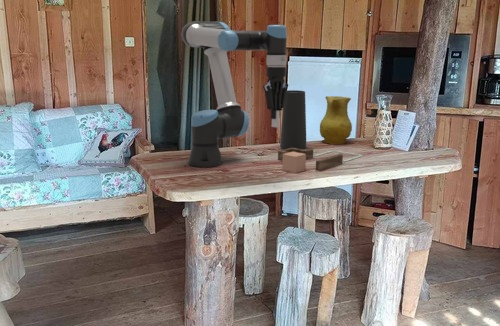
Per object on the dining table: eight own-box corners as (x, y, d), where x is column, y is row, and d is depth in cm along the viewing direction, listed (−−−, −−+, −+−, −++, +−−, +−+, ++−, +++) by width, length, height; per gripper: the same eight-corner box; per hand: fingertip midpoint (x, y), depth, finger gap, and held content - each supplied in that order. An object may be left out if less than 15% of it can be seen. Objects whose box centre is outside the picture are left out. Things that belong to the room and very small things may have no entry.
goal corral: (314, 156, 233) (314, 155, 233) (333, 150, 245) (333, 150, 245) (344, 162, 222) (345, 161, 222) (363, 156, 234) (363, 155, 234)
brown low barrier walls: (272, 160, 224) (272, 152, 223) (296, 154, 236) (296, 146, 236) (319, 170, 207) (319, 161, 206) (342, 163, 219) (342, 154, 219)
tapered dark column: (293, 151, 243) (295, 93, 236) (274, 147, 253) (275, 91, 246) (311, 147, 252) (313, 91, 245) (292, 143, 262) (294, 89, 255)
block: (282, 170, 208) (282, 154, 206) (292, 167, 213) (292, 151, 211) (295, 173, 203) (295, 156, 202) (305, 170, 208) (305, 154, 207)
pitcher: (311, 141, 267) (316, 95, 261) (332, 138, 279) (337, 94, 274) (336, 146, 255) (342, 98, 249) (357, 143, 267) (363, 98, 261)
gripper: (272, 67, 181) (272, 130, 187) (294, 66, 191) (292, 125, 196) (257, 66, 186) (257, 127, 192) (279, 65, 195) (278, 123, 201)
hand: (275, 126), depth 194 cm, fingers closed
